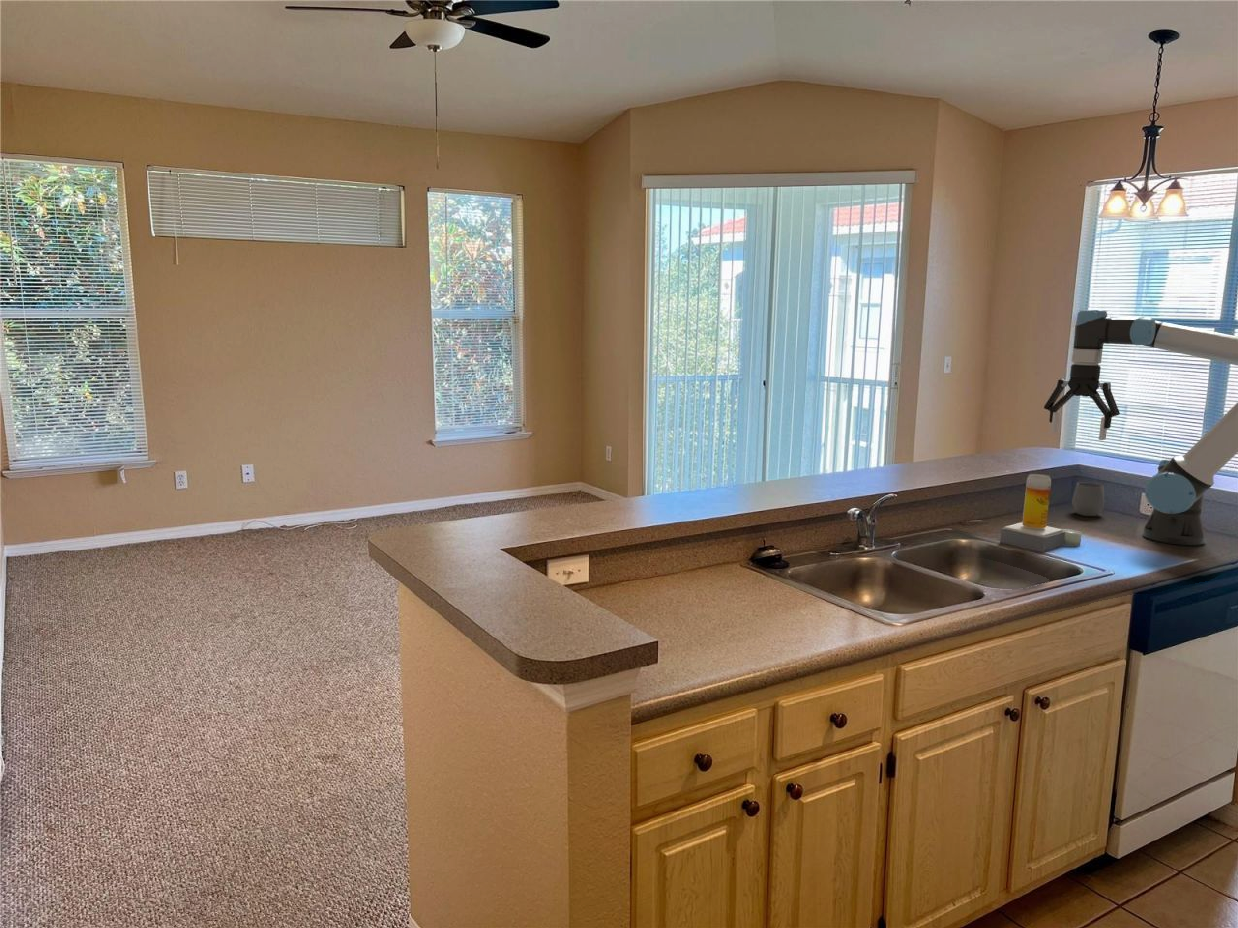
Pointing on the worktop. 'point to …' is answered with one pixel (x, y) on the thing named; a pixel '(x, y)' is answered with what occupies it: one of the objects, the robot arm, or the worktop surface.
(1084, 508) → the cup
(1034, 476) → the glass of beer
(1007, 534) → the podium
